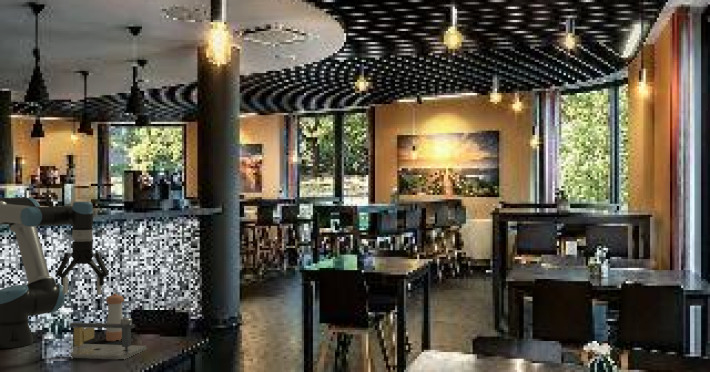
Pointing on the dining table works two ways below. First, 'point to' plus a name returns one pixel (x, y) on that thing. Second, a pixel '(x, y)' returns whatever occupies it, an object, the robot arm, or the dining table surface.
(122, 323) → the divider beam
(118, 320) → the salt shaker
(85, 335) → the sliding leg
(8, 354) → the dining table surface
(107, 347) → the bolt plate
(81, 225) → the robot arm
